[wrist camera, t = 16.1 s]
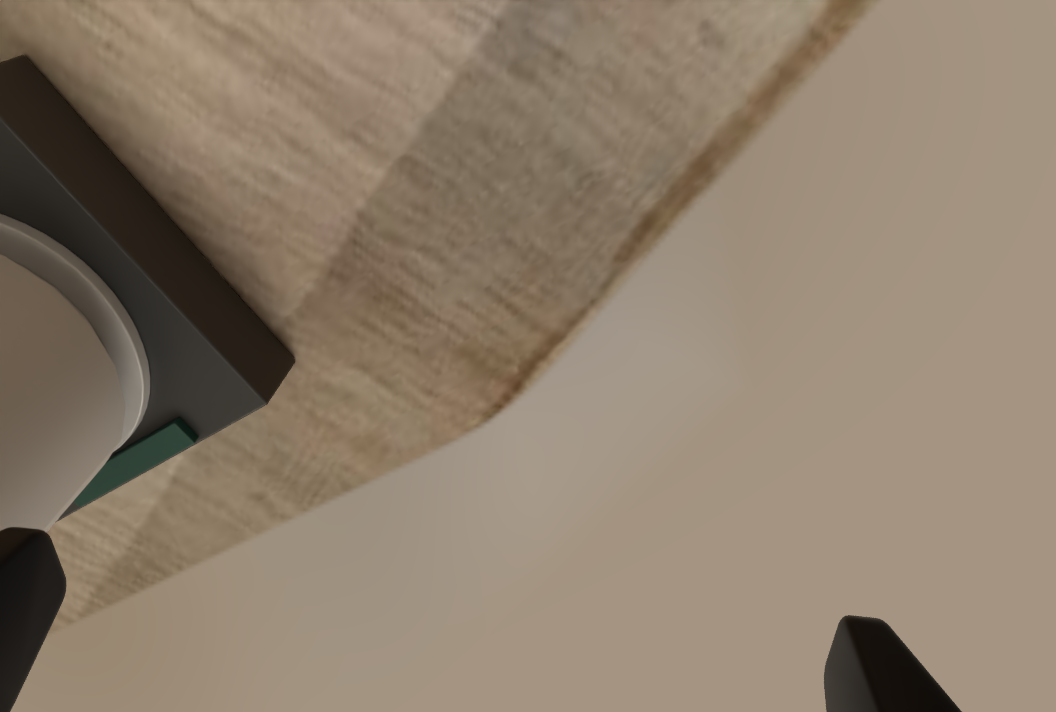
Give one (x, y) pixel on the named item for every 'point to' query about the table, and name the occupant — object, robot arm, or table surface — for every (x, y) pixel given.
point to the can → (50, 401)
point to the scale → (127, 283)
